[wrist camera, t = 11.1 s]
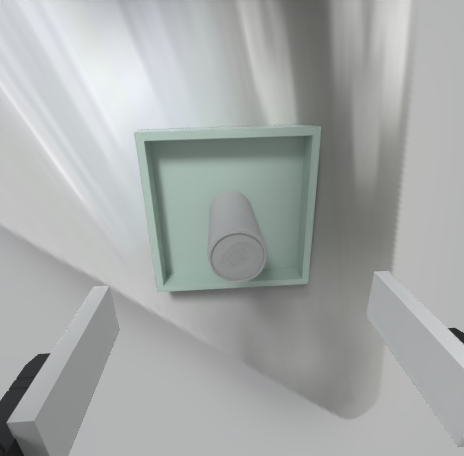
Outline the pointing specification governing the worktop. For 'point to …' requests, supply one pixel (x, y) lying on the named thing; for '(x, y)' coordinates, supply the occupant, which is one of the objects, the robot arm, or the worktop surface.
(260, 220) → the tray
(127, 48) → the worktop surface
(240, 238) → the beverage can
